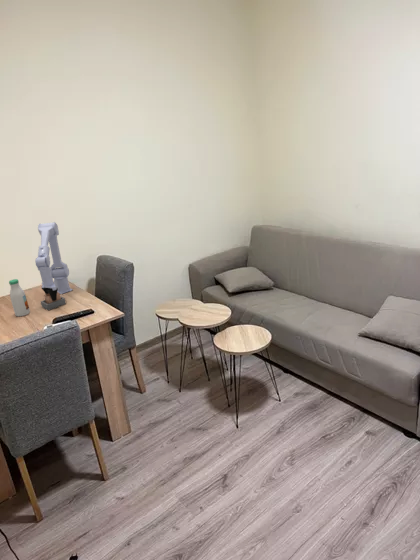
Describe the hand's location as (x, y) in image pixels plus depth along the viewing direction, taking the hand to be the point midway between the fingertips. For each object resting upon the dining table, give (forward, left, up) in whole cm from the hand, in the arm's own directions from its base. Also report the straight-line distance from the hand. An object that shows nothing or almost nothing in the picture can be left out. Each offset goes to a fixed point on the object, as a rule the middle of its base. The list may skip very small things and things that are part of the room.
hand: (52, 299), depth 229 cm
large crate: (0, 0, -4) cm, 4 cm away
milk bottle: (-5, -16, -4) cm, 17 cm away
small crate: (0, 0, -2) cm, 2 cm away
